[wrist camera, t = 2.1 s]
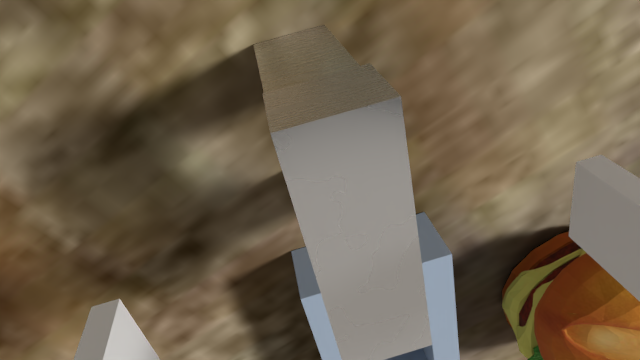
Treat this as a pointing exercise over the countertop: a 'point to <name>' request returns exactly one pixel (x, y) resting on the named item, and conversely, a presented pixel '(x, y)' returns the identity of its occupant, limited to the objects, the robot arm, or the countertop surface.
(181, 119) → the countertop surface
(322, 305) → the rail
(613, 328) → the cheeseburger
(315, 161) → the clip
